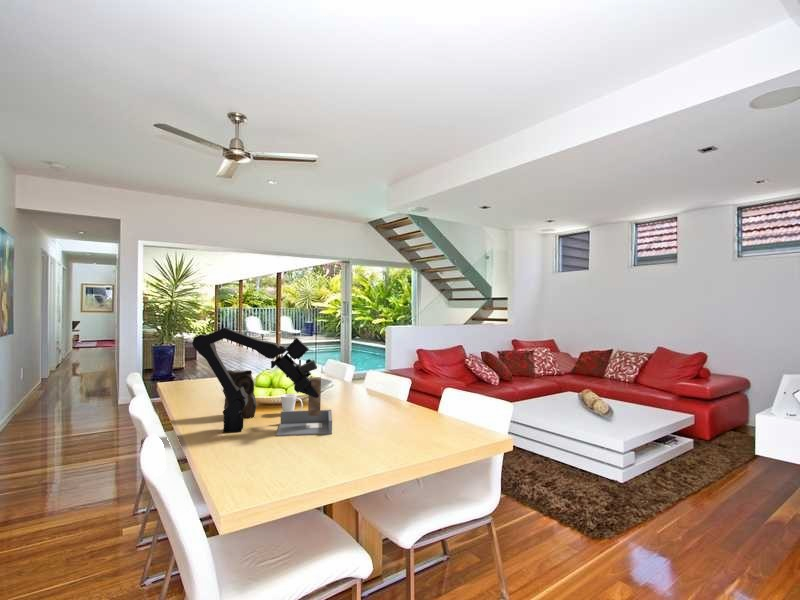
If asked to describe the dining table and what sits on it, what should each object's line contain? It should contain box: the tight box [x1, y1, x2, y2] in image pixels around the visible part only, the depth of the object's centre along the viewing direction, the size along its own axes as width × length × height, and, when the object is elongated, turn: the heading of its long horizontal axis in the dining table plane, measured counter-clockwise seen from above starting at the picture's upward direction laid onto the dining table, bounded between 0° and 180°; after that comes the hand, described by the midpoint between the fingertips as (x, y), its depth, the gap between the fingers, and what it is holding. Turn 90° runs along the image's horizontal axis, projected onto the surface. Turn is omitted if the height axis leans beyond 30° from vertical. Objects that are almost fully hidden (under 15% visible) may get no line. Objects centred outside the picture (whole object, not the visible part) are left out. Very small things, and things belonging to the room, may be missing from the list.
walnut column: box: [307, 376, 322, 416], centre depth 166 cm, size 5×5×14 cm
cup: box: [280, 393, 304, 411], centre depth 185 cm, size 7×10×8 cm
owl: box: [222, 369, 257, 419], centre depth 180 cm, size 13×13×20 cm
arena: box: [275, 409, 333, 437], centre depth 163 cm, size 20×17×5 cm
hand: (318, 395), depth 166 cm, fingers closed on walnut column, 5 cm apart
